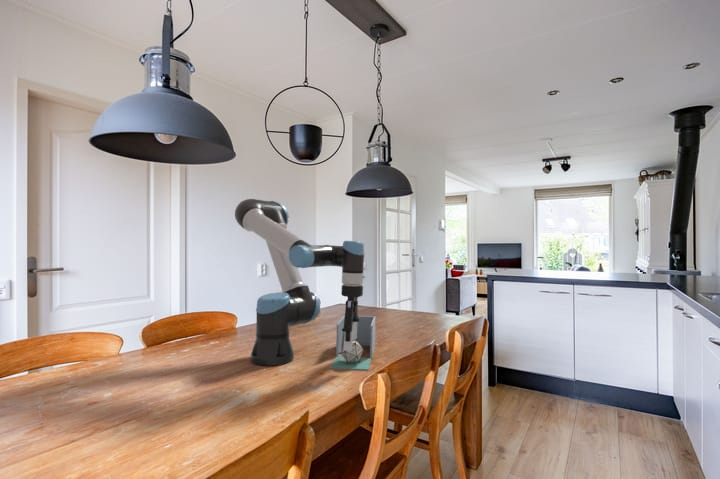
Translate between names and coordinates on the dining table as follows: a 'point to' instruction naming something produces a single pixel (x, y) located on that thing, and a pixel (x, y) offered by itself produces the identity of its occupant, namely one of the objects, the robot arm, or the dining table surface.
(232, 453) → the dining table surface
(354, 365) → the mat
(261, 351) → the robot arm
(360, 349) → the game die
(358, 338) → the slot box
